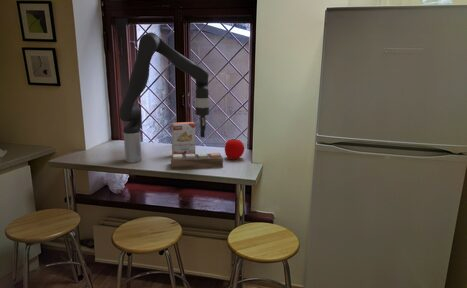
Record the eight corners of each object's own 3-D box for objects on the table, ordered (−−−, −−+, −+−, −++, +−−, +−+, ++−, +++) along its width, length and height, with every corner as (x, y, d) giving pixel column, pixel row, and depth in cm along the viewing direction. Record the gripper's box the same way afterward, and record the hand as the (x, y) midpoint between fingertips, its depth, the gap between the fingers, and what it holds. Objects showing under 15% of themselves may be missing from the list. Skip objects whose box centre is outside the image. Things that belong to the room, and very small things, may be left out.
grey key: (185, 159, 190) (185, 154, 190) (194, 158, 191) (194, 153, 191) (186, 161, 186) (186, 156, 185) (195, 161, 186) (195, 155, 186)
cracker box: (173, 157, 205) (173, 124, 200) (171, 155, 210) (170, 122, 205) (195, 155, 210) (195, 122, 205) (193, 153, 215) (192, 121, 211)
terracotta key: (209, 158, 193) (209, 153, 192) (218, 157, 194) (218, 152, 193) (211, 160, 188) (211, 155, 188) (219, 160, 189) (219, 155, 188)
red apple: (220, 159, 203) (220, 139, 200) (230, 155, 212) (230, 135, 209) (238, 162, 196) (238, 141, 194) (247, 158, 206) (247, 138, 203)
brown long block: (170, 163, 192) (170, 154, 191) (219, 161, 198) (219, 153, 197) (171, 169, 182) (171, 160, 181) (222, 166, 187) (222, 158, 186)
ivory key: (173, 159, 189) (173, 154, 188) (182, 159, 190) (182, 154, 189) (173, 162, 184) (173, 156, 183) (182, 161, 185) (182, 156, 184)
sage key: (197, 158, 192) (197, 153, 191) (206, 158, 193) (206, 153, 192) (198, 161, 187) (198, 155, 186) (207, 160, 188) (207, 155, 187)
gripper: (194, 104, 188) (194, 134, 192) (196, 107, 176) (196, 139, 180) (207, 104, 190) (207, 134, 194) (210, 107, 177) (210, 139, 181)
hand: (202, 137), depth 187 cm, fingers closed
